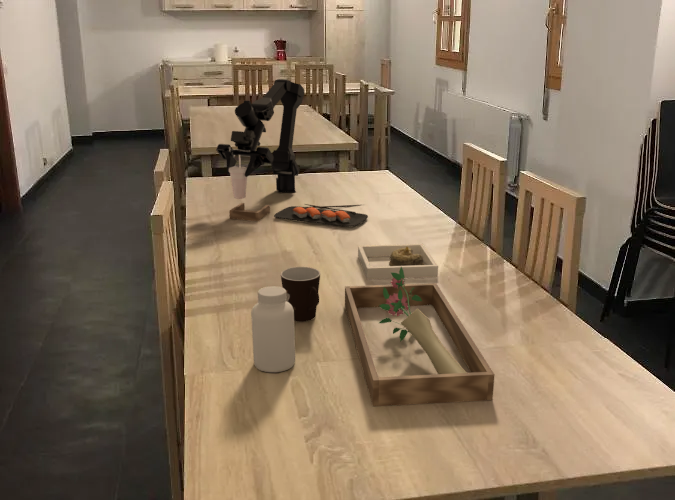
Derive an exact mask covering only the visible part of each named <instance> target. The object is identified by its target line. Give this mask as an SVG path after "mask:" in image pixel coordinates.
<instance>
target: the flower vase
mask: <svg viewBox="0 0 675 500" xmlns="http://www.w3.org/2000/svg"><path fill="white" fill-rule="evenodd" d="M391 274H392V276H393V279H391V281H390V285H393V286H392V287H395V288H396V287H397V286H398V287H397V289H398V288H399V287H402V288H403V289H404V290H405V284H406V283H405V282H406V281H405V279H406V278H405V276H404V271H403V269H402V267H401V268H400V271H399V274H398V273H391ZM403 286H404V287H403ZM413 289H414V288H412V290H413ZM412 290H411V291H412ZM411 291H410V292H409V293H411ZM405 292H406V290H405ZM406 294H407V292H406ZM383 295H384V298H385V299H387V300H386V302H387V303H386V304H381V305H379V306H380V307H379V308H381V310H384V311H387V313H388V314H389V315H392V316H393V317H395V315H396V316H397V317H399V316H401V315H404V314H405V315H406V318H404V320H402V321H401V322H400V323H399V322H397V321H395V320H392V319H391V318H390V317H385V318H383V319H381V320H380V321H379V322H378V324H385V323H387V324H388V323H392V322H394V323H395V324H398V325H401V326H403V328H400V327H394V329H393V330H392V334H393V335H394V334H396V333H398V332H399V331H400V333H399V341H400V343H401V342H402V341H404V339H406V336H407V334H408V333H409V334H410V335H411V336H413V338H414V339H415V341H416V342H417V343H418V344H419V346H420V347H421V348H422V350H423V351H424V353H426V355H427V357H428V359H429V360H430V362H431V364H432V366H433V368H434V370H435V372H436V374H454V373H468V372H467V371H466V370H465V369H464V368H463V367H462V366H461V365H460V363H459V362H458V361H457V360H456V358H455V357H453V355H452V354H451V353H450V351H449V350H448V349H447V348H446V346H444V344H443V343H442V342H441V341H440V339H439V337H438V335H437V334H436V332H435V331H434V329H433V327H432V323H431V320H430V319H429V317H428V316H426V315H425V314H424V313H423V312H422V311H421V310H420V309H419V308H418V307H417V308H416V309H415V310H414V311H411V306H409V298H408V296H409V295H408V294H407V298H405V297H404V295H402V291H401V289H400V290H399V292H398V294H395V293H394V295H393V296H391V295H389V294H388V291H387V289H386V288H385V287H384V289H383ZM411 295H412V293H411ZM411 295H410V297H411ZM407 299H408V303H405V302H406V301H407ZM411 300H415V301H422V300H421V298H420V297H419V296H417V295H414V296H413V297H412V299H411ZM407 305H408V306H407ZM407 311H409V313H408V312H407Z"/></svg>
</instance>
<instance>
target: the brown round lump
mask: <svg viewBox="0 0 675 500" xmlns="http://www.w3.org/2000/svg"><path fill="white" fill-rule="evenodd" d="M412 252H413V250H412V249H410V248H408V247H406V248H401V249H397V250H395V251H393V252H392V254H391V255H390V256H389V262H388V266H414V265H426V264H425V262H424V261H423V256H421V255H418V254H415V255H414V254H413V253H412Z"/></svg>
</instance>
